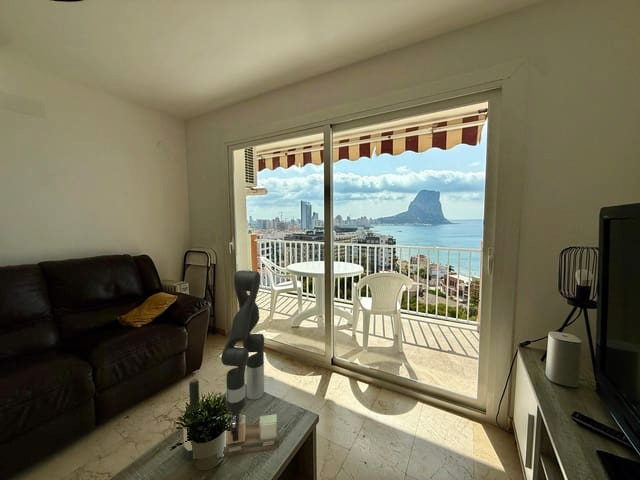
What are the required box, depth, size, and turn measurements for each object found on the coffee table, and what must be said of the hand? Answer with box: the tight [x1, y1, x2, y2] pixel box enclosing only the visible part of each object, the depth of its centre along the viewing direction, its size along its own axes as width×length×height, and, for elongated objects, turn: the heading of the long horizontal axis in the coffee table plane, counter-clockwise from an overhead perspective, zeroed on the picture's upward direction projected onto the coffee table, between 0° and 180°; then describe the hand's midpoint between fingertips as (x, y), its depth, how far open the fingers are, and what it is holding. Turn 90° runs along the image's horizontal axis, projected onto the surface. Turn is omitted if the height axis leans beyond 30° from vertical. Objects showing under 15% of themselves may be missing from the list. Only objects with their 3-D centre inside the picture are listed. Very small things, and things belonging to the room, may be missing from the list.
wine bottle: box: [182, 378, 200, 462], centre depth 101 cm, size 8×8×30 cm
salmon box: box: [226, 414, 247, 444], centre depth 104 cm, size 5×7×8 cm
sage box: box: [259, 413, 278, 441], centre depth 106 cm, size 5×7×8 cm
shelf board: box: [223, 423, 279, 458], centre depth 107 cm, size 12×24×4 cm, turn 101°
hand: (236, 434), depth 104 cm, fingers closed on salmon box, 4 cm apart
